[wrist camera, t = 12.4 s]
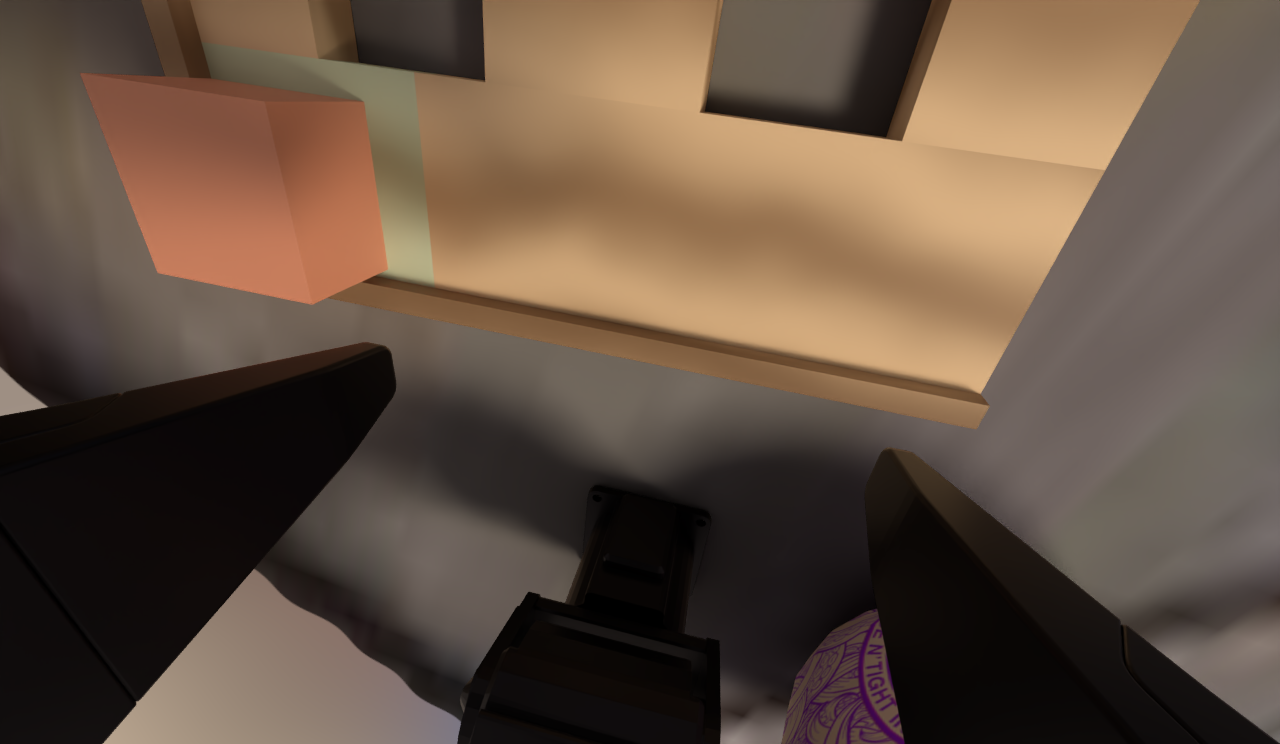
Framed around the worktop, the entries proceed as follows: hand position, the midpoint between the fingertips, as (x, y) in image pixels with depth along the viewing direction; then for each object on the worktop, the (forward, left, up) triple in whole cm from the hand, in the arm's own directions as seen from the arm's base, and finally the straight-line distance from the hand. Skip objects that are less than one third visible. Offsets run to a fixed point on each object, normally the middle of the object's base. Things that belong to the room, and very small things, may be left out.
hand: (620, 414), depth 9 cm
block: (+1, +15, -10) cm, 18 cm away
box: (+4, +4, -12) cm, 13 cm away
